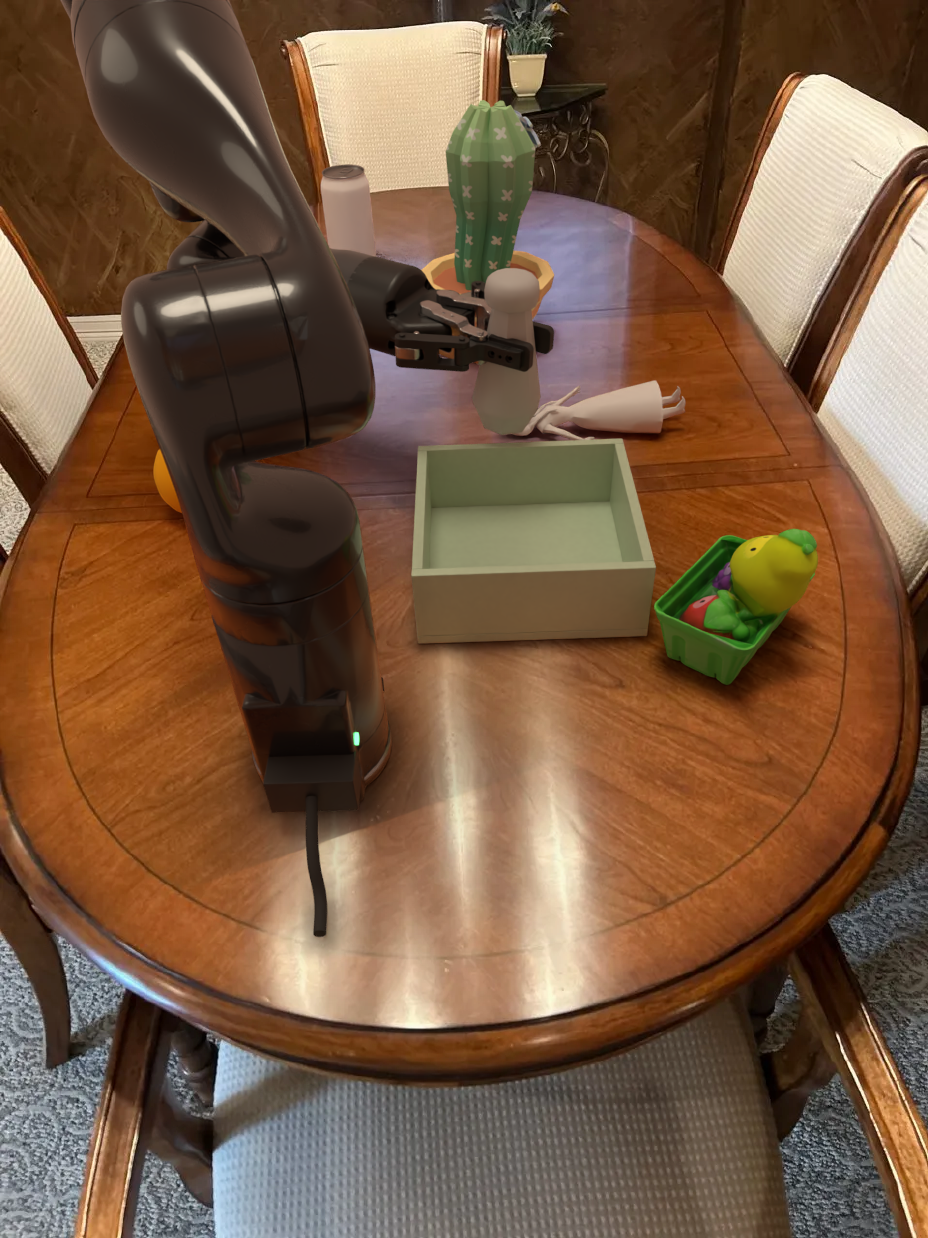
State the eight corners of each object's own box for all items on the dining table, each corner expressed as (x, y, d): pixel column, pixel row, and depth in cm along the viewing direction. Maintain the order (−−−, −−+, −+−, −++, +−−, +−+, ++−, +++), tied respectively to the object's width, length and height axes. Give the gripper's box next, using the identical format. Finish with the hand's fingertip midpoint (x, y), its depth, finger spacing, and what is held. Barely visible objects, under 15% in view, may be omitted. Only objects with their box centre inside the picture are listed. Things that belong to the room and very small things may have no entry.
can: (323, 269, 127) (310, 176, 119) (341, 251, 131) (330, 161, 123) (366, 272, 125) (356, 179, 117) (383, 255, 130) (374, 164, 122)
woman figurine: (697, 411, 85) (506, 433, 86) (694, 452, 88) (509, 473, 89) (671, 354, 94) (497, 375, 95) (669, 393, 97) (500, 413, 98)
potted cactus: (575, 353, 105) (587, 111, 88) (450, 381, 101) (437, 134, 84) (519, 303, 116) (521, 79, 99) (404, 326, 112) (385, 97, 95)
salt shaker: (514, 447, 76) (522, 296, 68) (458, 426, 79) (460, 277, 70) (551, 418, 80) (564, 271, 71) (496, 398, 82) (503, 253, 73)
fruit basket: (715, 580, 75) (738, 462, 67) (819, 625, 70) (857, 504, 63) (642, 659, 68) (658, 538, 61) (752, 713, 64) (784, 590, 56)
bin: (647, 636, 70) (656, 567, 65) (417, 643, 70) (411, 575, 66) (616, 503, 83) (622, 438, 78) (423, 510, 83) (418, 445, 79)
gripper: (311, 286, 73) (501, 339, 66) (408, 231, 81) (584, 273, 75) (320, 373, 78) (497, 429, 71) (410, 312, 87) (575, 358, 80)
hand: (540, 349), depth 73 cm, fingers closed on salt shaker, 3 cm apart
